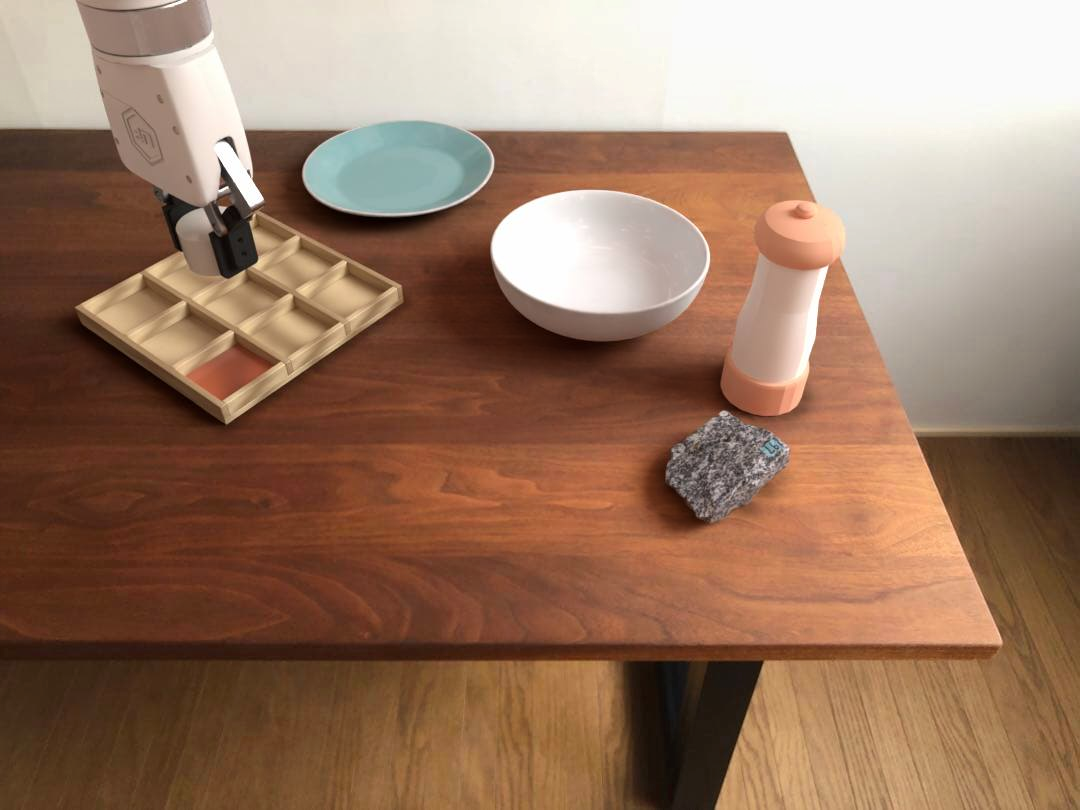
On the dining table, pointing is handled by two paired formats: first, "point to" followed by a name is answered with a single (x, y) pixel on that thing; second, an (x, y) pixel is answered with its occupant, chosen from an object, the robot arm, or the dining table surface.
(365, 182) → the plate
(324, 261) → the wooden compartment tray
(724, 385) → the pepper shaker
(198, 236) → the white cylinder puck
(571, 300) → the serving bowl
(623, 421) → the dining table surface
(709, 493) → the rock
